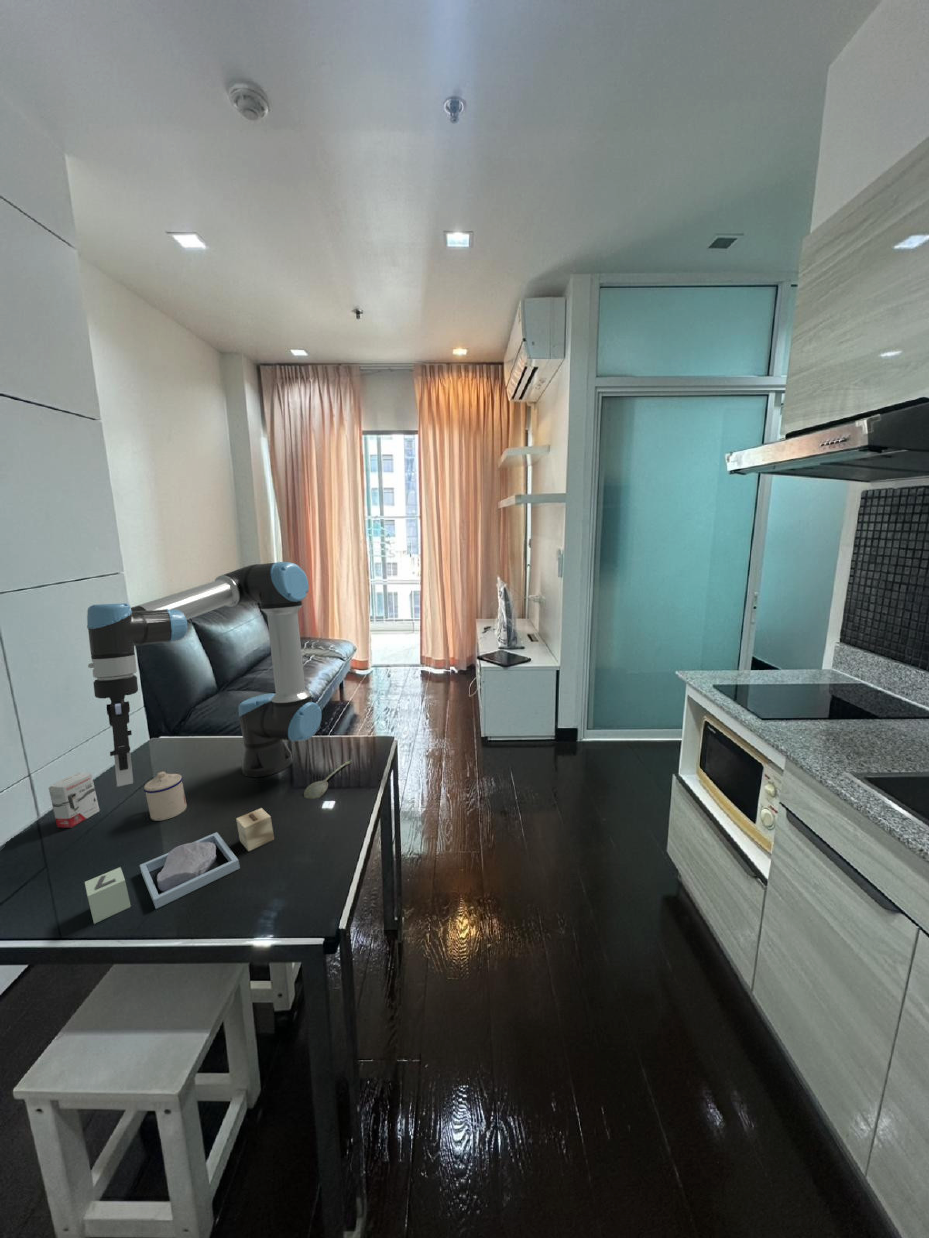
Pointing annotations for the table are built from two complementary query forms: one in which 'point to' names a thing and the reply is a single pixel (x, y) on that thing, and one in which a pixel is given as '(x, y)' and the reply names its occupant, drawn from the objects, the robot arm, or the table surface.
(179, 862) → the stone block
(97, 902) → the numbered sage-green block
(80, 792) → the ink box
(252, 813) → the numbered birch block
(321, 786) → the soupspoon
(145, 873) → the slate-blue holder
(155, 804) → the teacup with lid
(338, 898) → the table surface
